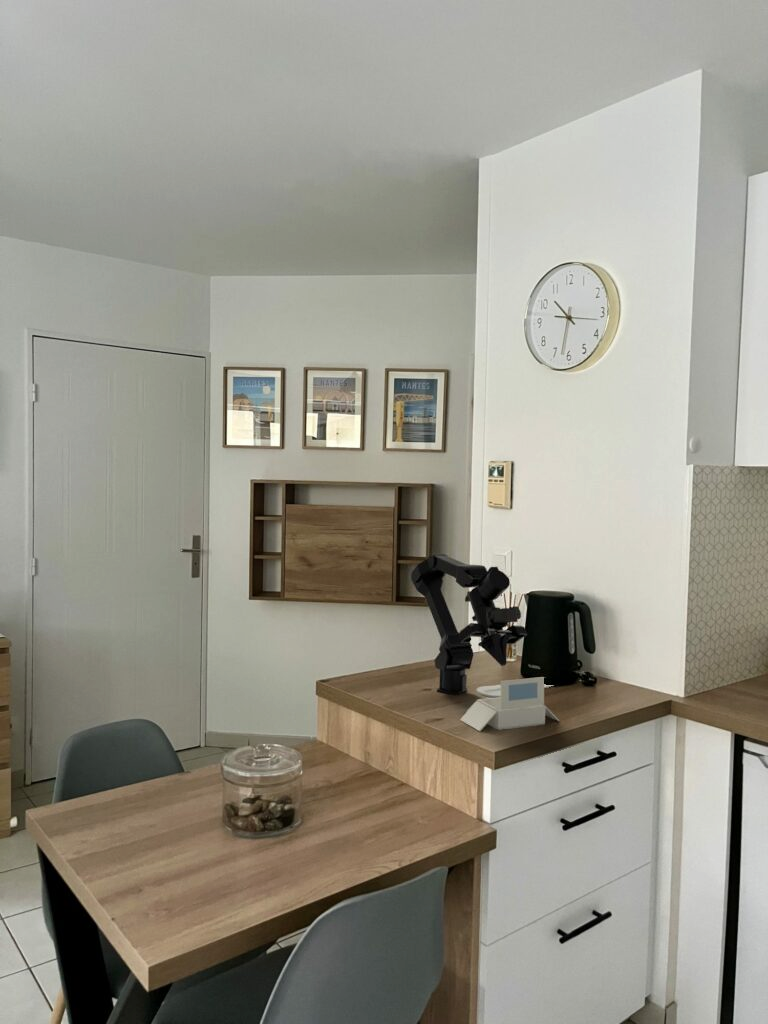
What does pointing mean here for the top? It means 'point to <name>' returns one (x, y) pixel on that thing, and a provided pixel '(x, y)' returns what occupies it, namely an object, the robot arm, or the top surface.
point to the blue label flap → (522, 692)
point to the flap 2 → (550, 714)
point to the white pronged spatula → (495, 690)
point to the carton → (514, 715)
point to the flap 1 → (478, 716)
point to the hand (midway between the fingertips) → (503, 665)
